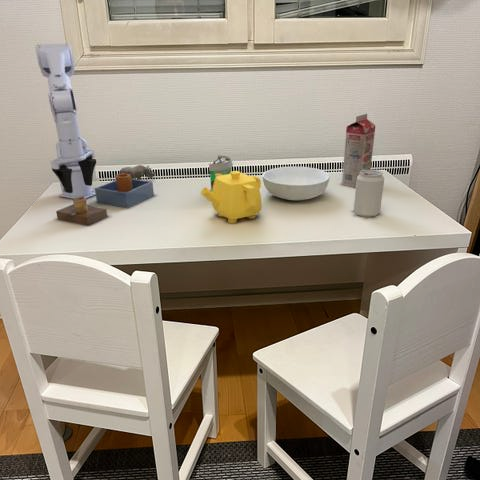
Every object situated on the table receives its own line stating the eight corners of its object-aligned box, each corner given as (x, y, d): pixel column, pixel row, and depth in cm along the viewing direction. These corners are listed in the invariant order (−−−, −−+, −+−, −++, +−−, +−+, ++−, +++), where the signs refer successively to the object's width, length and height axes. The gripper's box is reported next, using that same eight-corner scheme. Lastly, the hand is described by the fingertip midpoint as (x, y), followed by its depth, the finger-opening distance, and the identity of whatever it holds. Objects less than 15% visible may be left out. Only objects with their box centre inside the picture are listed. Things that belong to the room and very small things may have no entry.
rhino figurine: (159, 181, 179) (157, 164, 176) (121, 187, 174) (119, 169, 171) (155, 178, 183) (153, 161, 179) (118, 184, 177) (115, 167, 174)
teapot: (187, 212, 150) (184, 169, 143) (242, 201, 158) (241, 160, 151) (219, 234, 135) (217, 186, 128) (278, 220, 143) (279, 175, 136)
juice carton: (341, 184, 171) (347, 115, 160) (351, 180, 175) (358, 112, 164) (359, 188, 167) (366, 117, 156) (369, 183, 172) (376, 114, 160)
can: (348, 211, 148) (352, 170, 142) (369, 207, 150) (374, 167, 144) (363, 219, 142) (367, 176, 136) (385, 215, 144) (390, 173, 138)
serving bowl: (281, 211, 149) (282, 188, 146) (251, 192, 166) (251, 171, 162) (341, 200, 156) (343, 178, 153) (306, 183, 173) (307, 163, 169)
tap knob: (81, 213, 144) (79, 200, 142) (72, 212, 145) (69, 199, 143) (90, 210, 146) (88, 197, 144) (81, 208, 148) (79, 195, 146)
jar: (115, 198, 162) (112, 176, 158) (125, 194, 165) (122, 172, 161) (126, 200, 160) (123, 178, 156) (136, 196, 163) (133, 174, 159)
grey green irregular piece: (229, 196, 163) (227, 164, 157) (210, 195, 164) (208, 164, 159) (236, 185, 173) (236, 155, 168) (219, 184, 174) (218, 155, 169)
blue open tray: (97, 202, 160) (94, 188, 158) (124, 191, 170) (122, 177, 168) (127, 208, 155) (125, 193, 153) (154, 195, 165) (152, 181, 163)
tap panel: (55, 220, 147) (53, 211, 146) (77, 211, 154) (75, 202, 152) (86, 226, 142) (84, 217, 141) (107, 216, 148) (106, 208, 147)
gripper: (60, 145, 129) (70, 197, 136) (99, 134, 140) (107, 183, 147) (40, 143, 132) (51, 194, 139) (80, 132, 143) (89, 180, 150)
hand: (79, 188), depth 143 cm, fingers open, 7 cm apart
